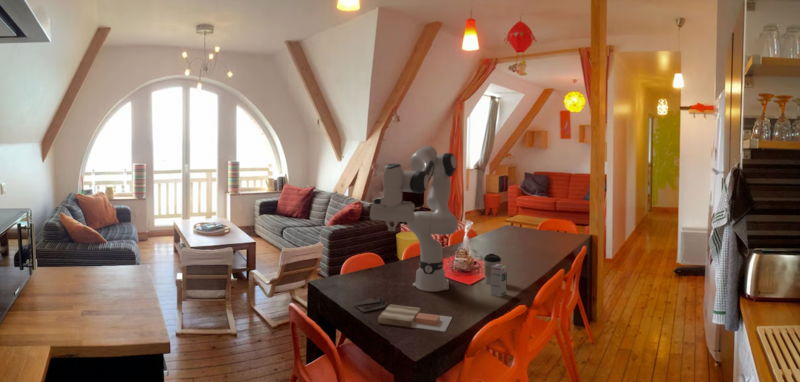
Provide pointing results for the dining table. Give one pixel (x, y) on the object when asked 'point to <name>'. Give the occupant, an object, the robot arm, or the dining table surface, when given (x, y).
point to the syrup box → (498, 280)
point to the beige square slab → (399, 315)
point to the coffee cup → (488, 263)
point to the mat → (440, 326)
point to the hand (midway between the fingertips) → (391, 230)
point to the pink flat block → (427, 319)
